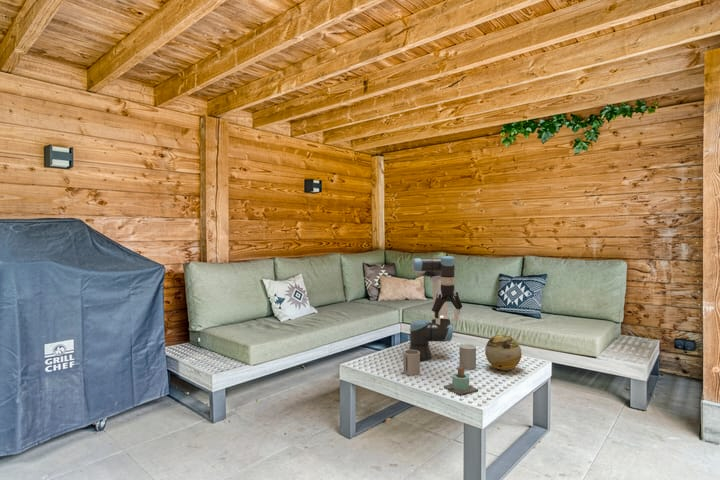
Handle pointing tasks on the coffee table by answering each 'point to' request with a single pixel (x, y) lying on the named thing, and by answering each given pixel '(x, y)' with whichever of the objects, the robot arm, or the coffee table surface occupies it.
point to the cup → (411, 362)
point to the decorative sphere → (503, 352)
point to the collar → (460, 382)
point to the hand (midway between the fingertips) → (447, 322)
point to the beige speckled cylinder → (467, 357)
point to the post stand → (471, 390)
